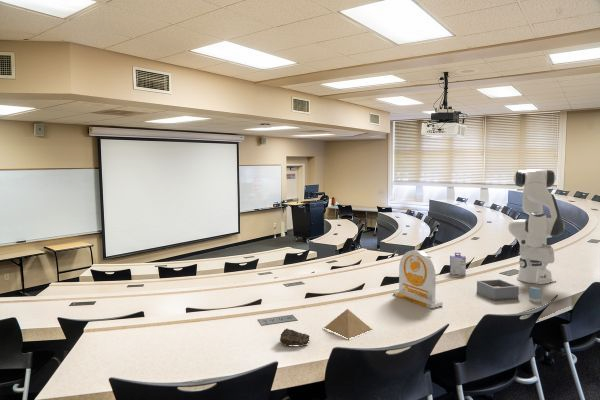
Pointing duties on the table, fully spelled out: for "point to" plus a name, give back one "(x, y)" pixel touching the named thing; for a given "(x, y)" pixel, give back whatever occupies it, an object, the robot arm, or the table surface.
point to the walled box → (497, 290)
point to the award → (417, 279)
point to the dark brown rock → (293, 337)
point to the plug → (535, 294)
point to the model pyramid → (348, 325)
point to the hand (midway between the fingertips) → (536, 268)
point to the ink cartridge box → (458, 264)
